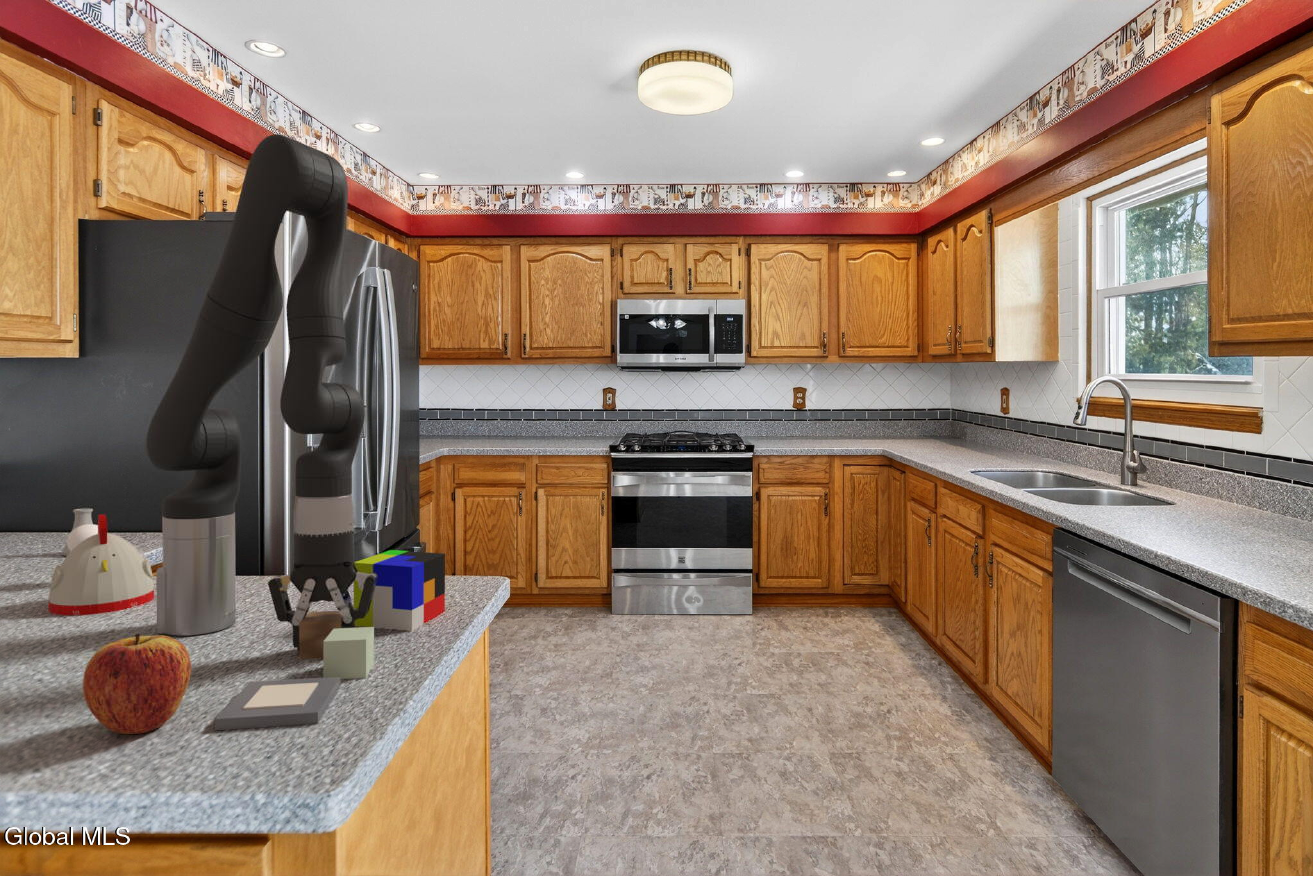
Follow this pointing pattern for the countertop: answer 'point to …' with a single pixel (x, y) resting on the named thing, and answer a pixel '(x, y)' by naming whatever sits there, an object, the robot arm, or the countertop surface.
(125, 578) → the kitchen timer
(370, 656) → the sage block
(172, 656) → the apple
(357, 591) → the puzzle toy
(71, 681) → the countertop surface
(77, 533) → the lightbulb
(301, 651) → the walnut block
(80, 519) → the flask
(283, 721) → the build board
